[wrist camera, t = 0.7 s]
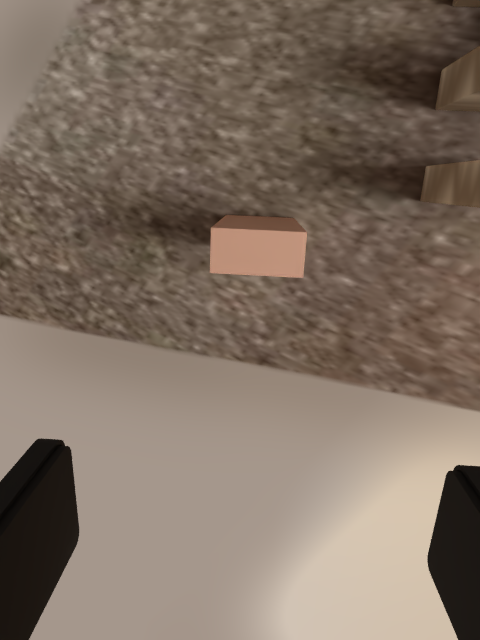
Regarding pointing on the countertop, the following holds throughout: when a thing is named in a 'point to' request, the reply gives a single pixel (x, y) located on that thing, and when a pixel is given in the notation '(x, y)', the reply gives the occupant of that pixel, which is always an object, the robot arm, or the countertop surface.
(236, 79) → the countertop surface
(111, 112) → the countertop surface
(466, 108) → the domino
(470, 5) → the domino
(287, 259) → the domino
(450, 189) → the domino
